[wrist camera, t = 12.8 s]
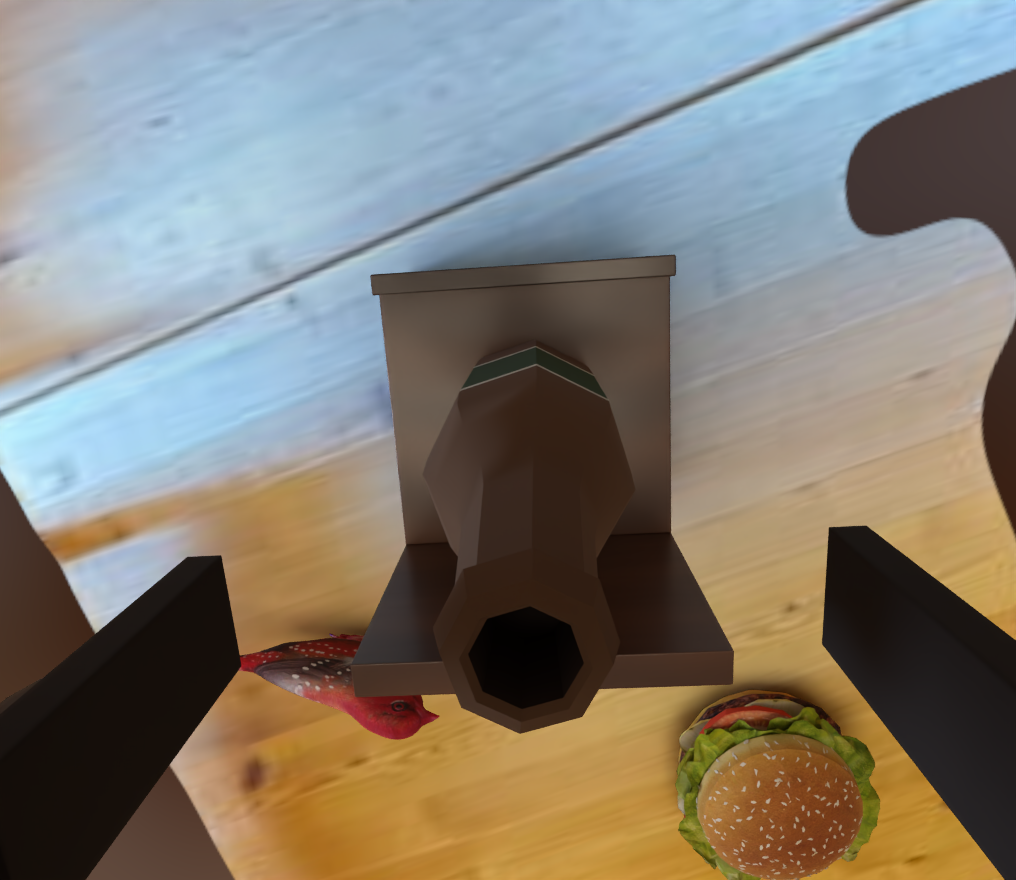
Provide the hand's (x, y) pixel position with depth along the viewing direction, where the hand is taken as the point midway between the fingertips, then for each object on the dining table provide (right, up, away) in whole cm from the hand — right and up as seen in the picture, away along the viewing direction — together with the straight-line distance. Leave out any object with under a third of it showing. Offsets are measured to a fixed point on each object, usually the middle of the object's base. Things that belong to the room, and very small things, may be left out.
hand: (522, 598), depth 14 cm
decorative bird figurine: (-13, -11, +35) cm, 39 cm away
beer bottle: (+1, +5, +22) cm, 22 cm away
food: (+19, -21, +37) cm, 46 cm away
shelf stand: (+1, +7, +30) cm, 31 cm away
